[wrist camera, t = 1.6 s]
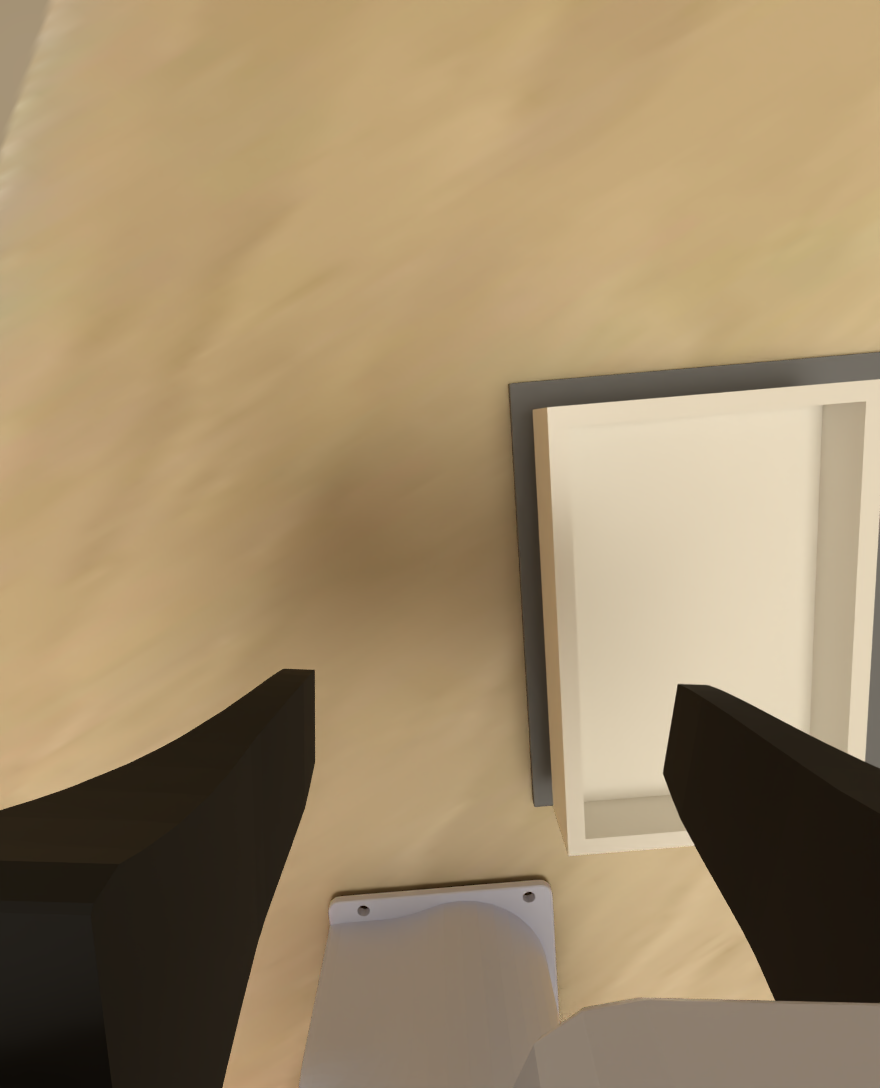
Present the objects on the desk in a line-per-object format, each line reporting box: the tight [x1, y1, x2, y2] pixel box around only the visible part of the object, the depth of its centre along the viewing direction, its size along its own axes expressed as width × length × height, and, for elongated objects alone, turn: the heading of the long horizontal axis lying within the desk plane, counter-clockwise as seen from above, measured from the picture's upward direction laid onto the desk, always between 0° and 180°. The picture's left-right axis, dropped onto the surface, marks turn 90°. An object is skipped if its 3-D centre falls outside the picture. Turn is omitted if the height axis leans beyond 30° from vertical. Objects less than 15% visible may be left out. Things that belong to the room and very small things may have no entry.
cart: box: [533, 379, 880, 856], centre depth 21 cm, size 10×15×4 cm, turn 5°
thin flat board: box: [509, 352, 880, 807], centre depth 23 cm, size 23×17×2 cm
